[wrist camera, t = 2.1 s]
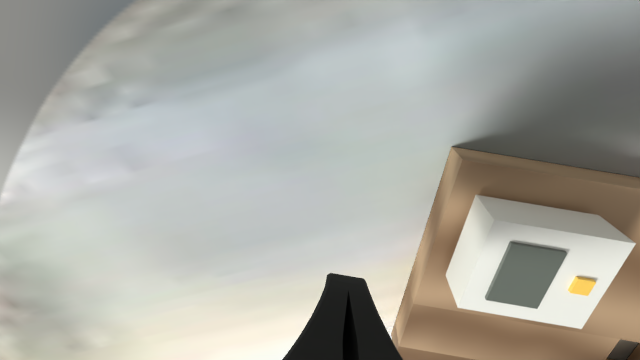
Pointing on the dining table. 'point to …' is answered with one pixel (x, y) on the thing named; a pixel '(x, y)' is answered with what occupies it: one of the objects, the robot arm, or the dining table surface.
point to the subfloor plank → (503, 331)
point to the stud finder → (534, 261)
